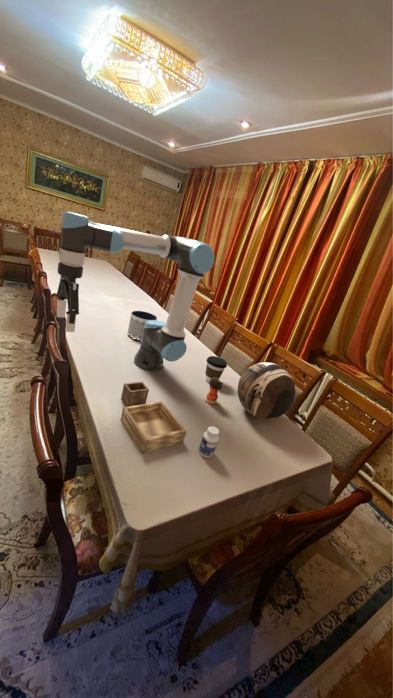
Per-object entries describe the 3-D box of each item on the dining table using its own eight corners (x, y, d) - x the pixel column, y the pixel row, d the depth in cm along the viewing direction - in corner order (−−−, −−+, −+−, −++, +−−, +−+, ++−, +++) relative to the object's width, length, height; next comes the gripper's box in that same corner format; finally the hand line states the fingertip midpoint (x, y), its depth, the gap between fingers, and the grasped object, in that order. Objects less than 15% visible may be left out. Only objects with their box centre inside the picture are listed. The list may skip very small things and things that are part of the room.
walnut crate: (139, 396, 121) (142, 381, 119) (145, 404, 117) (148, 389, 114) (121, 398, 116) (124, 383, 114) (127, 407, 112) (130, 391, 109)
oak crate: (158, 411, 114) (161, 401, 113) (183, 442, 102) (186, 430, 100) (120, 418, 105) (123, 407, 103) (142, 453, 92) (145, 440, 90)
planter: (150, 344, 175) (155, 322, 170) (124, 337, 174) (128, 315, 169) (154, 335, 190) (158, 315, 185) (130, 329, 189) (134, 308, 184)
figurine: (218, 401, 134) (226, 378, 130) (215, 406, 129) (223, 383, 125) (206, 395, 136) (213, 373, 132) (202, 401, 131) (209, 378, 126)
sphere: (251, 434, 117) (273, 381, 108) (220, 398, 137) (237, 351, 128) (294, 428, 130) (316, 380, 121) (260, 396, 150) (277, 353, 141)
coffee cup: (225, 383, 153) (231, 363, 149) (212, 387, 145) (218, 366, 140) (209, 373, 159) (216, 354, 155) (196, 377, 151) (202, 357, 147)
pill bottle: (197, 445, 102) (204, 423, 99) (212, 448, 103) (219, 426, 100) (198, 456, 97) (206, 433, 94) (214, 459, 98) (222, 436, 95)
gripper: (50, 253, 101) (46, 311, 109) (68, 271, 84) (61, 338, 91) (73, 257, 106) (67, 312, 113) (94, 275, 88) (86, 338, 96)
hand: (65, 324), depth 102 cm, fingers open, 13 cm apart
